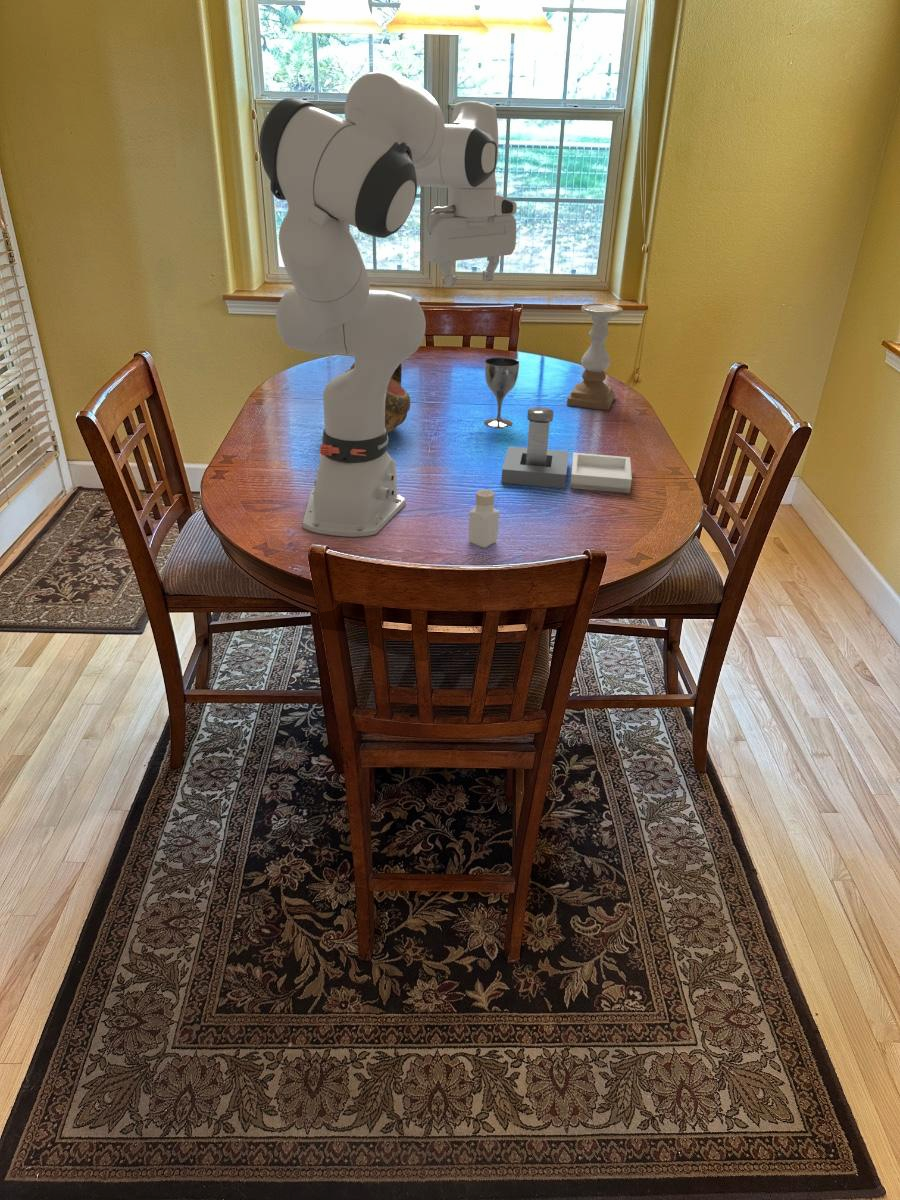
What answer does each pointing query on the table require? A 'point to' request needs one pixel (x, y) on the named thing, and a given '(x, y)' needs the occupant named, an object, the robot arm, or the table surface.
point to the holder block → (535, 469)
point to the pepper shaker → (483, 520)
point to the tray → (601, 472)
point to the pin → (538, 435)
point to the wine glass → (500, 384)
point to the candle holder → (595, 361)
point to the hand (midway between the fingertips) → (469, 283)
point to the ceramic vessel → (395, 401)
